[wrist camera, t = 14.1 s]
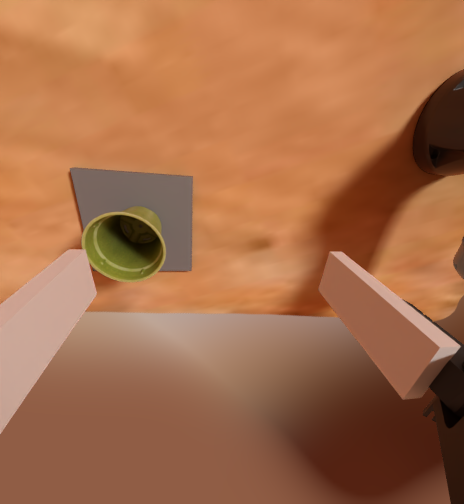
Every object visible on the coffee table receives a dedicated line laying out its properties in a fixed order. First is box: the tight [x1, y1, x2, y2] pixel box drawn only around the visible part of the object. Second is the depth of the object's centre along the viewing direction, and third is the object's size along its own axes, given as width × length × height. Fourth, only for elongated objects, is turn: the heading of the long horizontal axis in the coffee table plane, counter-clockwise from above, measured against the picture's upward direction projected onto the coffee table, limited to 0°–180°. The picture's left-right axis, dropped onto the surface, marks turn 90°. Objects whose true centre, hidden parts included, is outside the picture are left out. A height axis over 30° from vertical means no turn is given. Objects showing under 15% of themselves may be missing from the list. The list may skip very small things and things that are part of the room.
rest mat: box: [70, 168, 193, 271], centre depth 34 cm, size 16×16×1 cm
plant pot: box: [81, 206, 166, 282], centre depth 30 cm, size 9×9×9 cm
